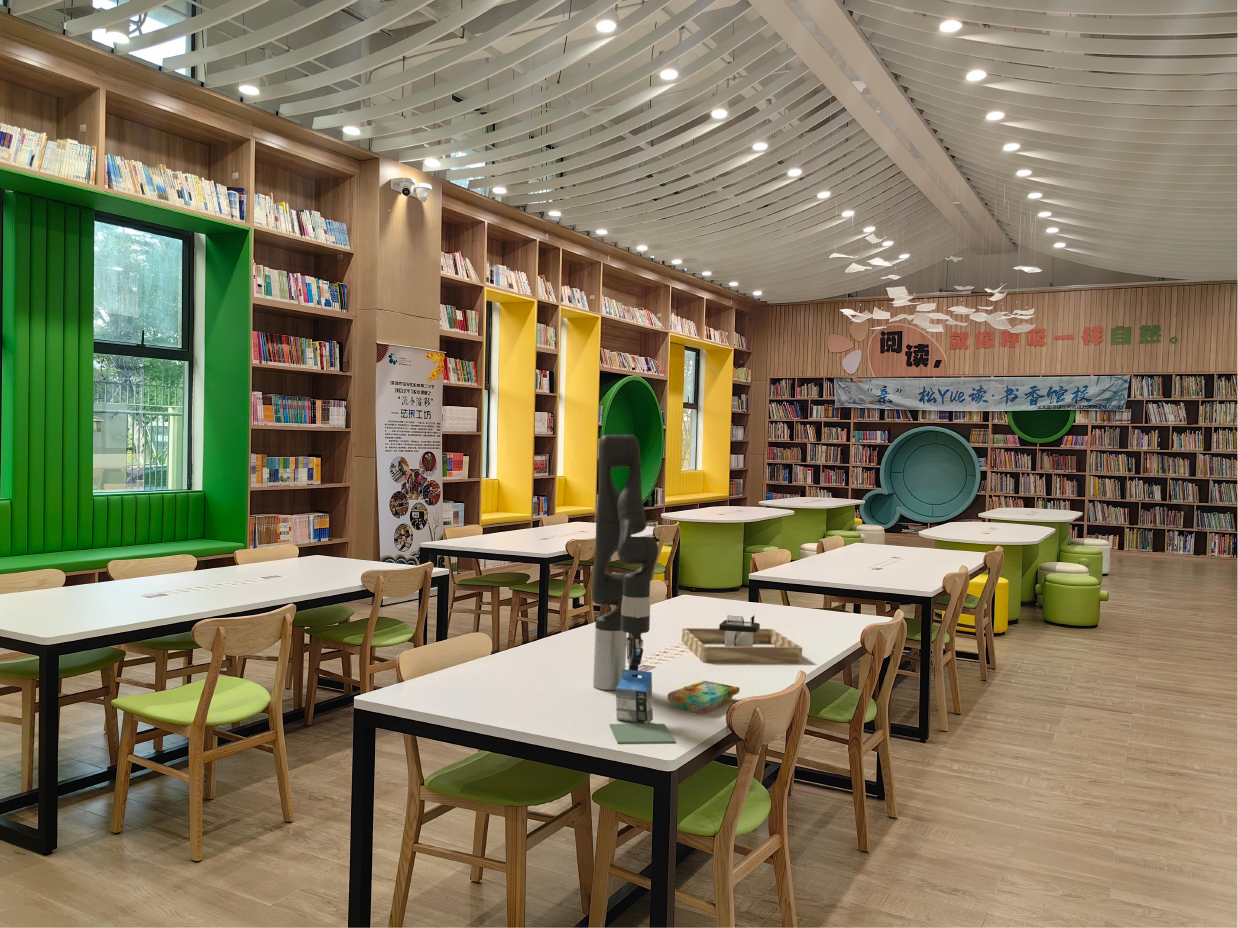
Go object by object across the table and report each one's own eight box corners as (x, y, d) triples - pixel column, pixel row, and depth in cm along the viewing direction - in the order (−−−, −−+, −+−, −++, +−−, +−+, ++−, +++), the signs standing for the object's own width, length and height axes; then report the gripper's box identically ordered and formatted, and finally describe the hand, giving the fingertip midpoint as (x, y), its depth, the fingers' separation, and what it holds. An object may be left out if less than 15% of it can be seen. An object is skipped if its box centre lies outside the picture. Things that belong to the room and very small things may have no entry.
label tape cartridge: (615, 720, 231) (614, 672, 231) (622, 715, 235) (621, 668, 234) (647, 724, 227) (645, 675, 227) (653, 719, 230) (652, 671, 230)
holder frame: (681, 641, 332) (682, 628, 332) (771, 642, 337) (772, 628, 337) (702, 662, 300) (703, 647, 300) (801, 662, 305) (802, 647, 305)
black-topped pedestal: (691, 655, 311) (693, 617, 311) (708, 641, 336) (709, 606, 336) (772, 664, 302) (774, 624, 302) (783, 649, 327) (785, 612, 327)
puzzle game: (667, 690, 245) (703, 677, 261) (667, 707, 245) (702, 693, 262) (705, 698, 238) (739, 684, 255) (704, 716, 238) (739, 700, 255)
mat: (609, 725, 226) (609, 723, 226) (664, 724, 228) (664, 723, 228) (617, 743, 212) (617, 741, 212) (675, 742, 215) (675, 741, 215)
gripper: (617, 608, 241) (615, 673, 241) (625, 617, 228) (622, 685, 228) (645, 608, 242) (642, 673, 242) (654, 617, 229) (651, 685, 229)
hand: (633, 679), depth 235 cm, fingers closed
